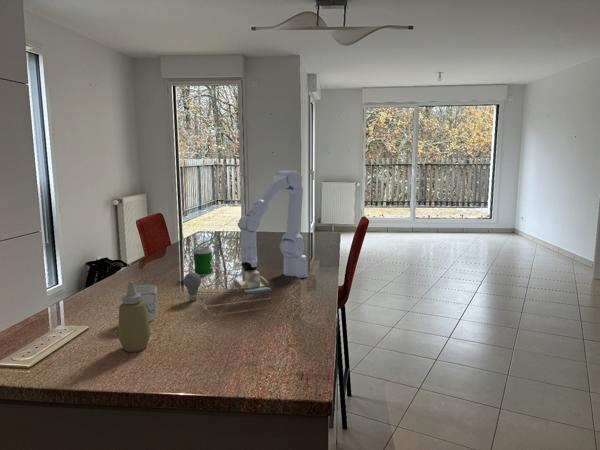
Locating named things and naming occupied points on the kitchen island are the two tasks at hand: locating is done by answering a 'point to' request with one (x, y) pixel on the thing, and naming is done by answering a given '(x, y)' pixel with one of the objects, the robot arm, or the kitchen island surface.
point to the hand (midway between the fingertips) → (250, 281)
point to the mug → (148, 299)
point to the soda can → (203, 261)
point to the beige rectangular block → (252, 279)
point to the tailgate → (257, 290)
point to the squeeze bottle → (133, 321)
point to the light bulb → (192, 284)
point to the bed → (242, 285)
